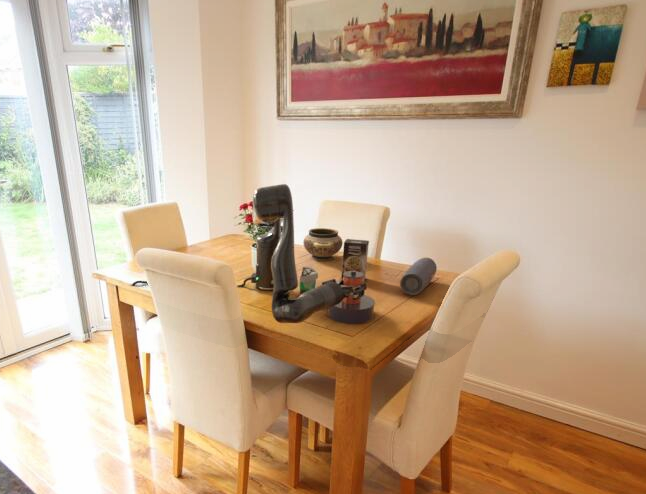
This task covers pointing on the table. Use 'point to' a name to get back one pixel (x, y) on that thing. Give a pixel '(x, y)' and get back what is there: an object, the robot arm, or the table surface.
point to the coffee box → (355, 256)
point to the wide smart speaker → (353, 311)
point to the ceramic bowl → (322, 243)
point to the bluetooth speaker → (418, 276)
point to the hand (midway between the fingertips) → (356, 283)
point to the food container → (308, 279)
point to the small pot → (352, 279)
